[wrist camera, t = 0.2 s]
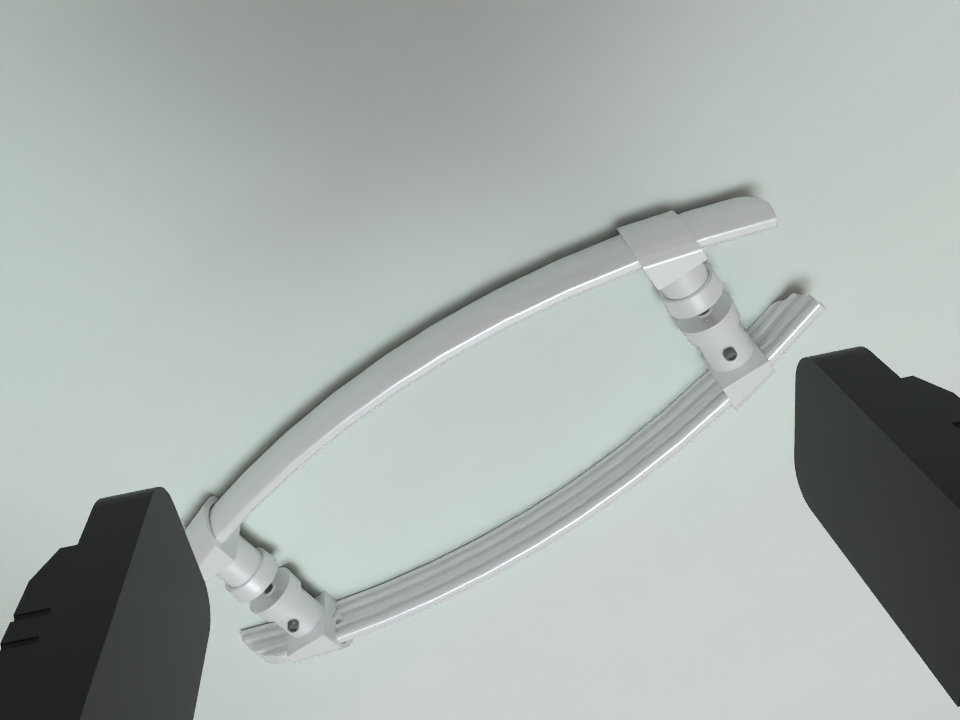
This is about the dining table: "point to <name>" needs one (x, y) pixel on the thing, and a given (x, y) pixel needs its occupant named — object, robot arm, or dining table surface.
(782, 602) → the dining table surface
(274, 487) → the door handle
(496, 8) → the dining table surface
